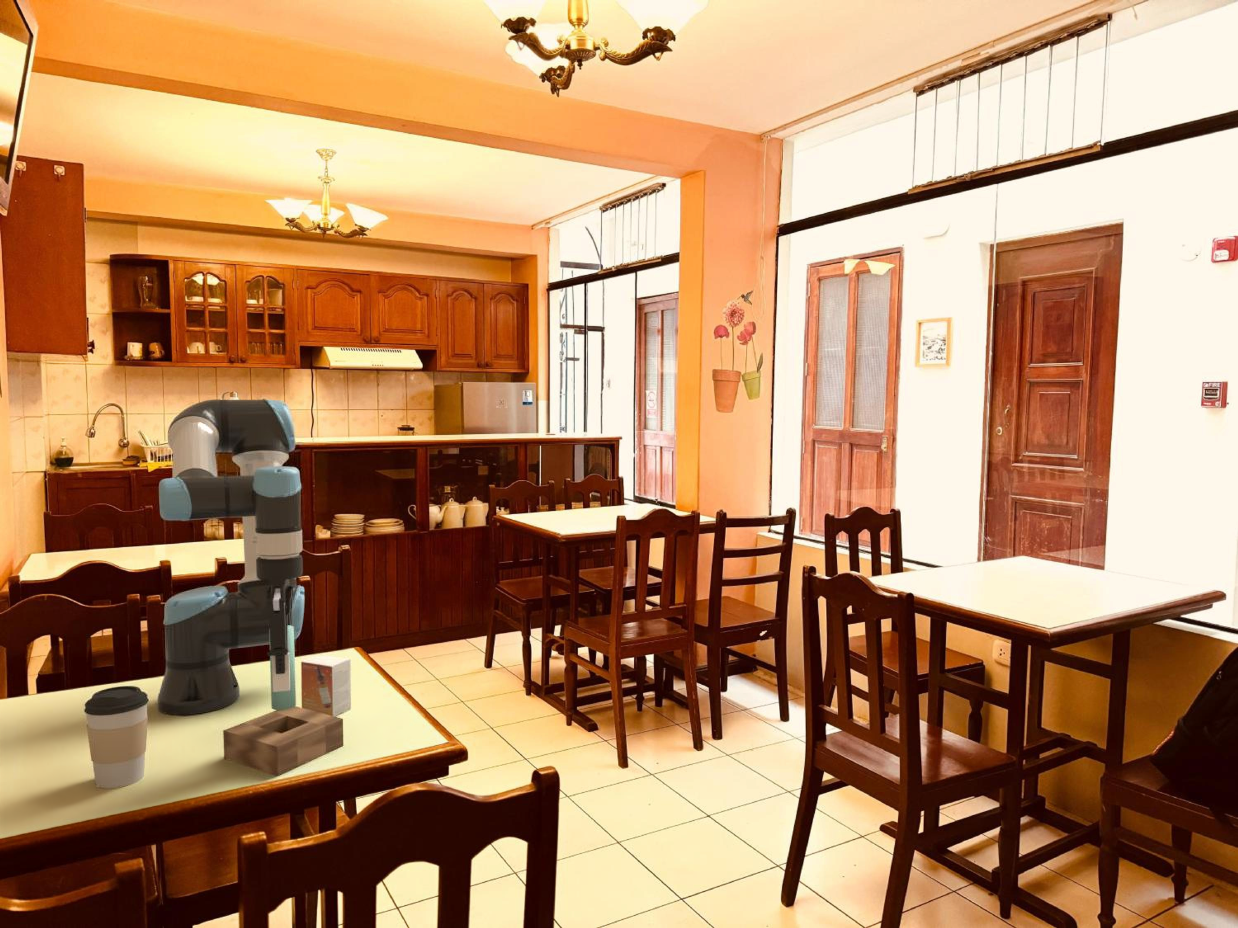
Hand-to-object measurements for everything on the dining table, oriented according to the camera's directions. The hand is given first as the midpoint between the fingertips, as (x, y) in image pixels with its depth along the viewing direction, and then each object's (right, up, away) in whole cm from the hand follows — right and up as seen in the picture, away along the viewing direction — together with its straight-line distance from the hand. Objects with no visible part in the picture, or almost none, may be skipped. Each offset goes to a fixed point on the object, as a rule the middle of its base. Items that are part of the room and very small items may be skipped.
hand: (283, 685), depth 146 cm
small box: (0, -11, +21) cm, 24 cm away
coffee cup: (-23, -13, -10) cm, 28 cm away
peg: (0, -4, 0) cm, 4 cm away
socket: (0, -12, +1) cm, 12 cm away
